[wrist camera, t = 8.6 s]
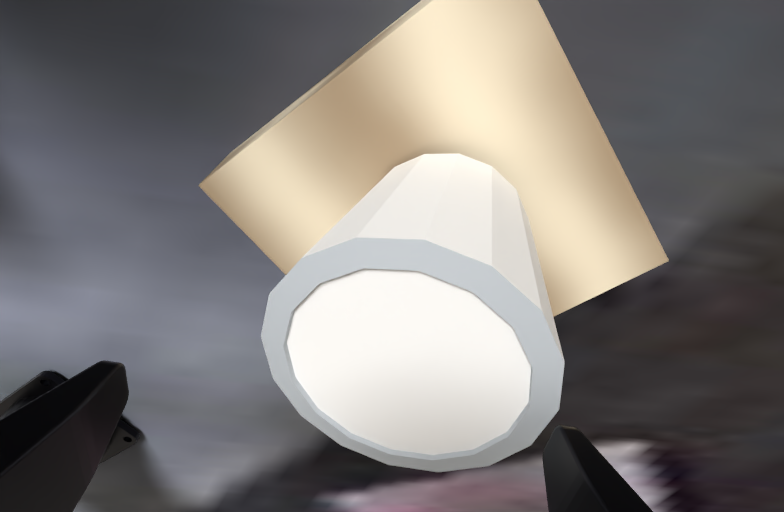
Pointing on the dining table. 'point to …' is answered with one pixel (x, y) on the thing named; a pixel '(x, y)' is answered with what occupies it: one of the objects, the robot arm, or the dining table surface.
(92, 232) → the dining table surface
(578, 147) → the ash block
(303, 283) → the shot glass
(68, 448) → the robot arm
